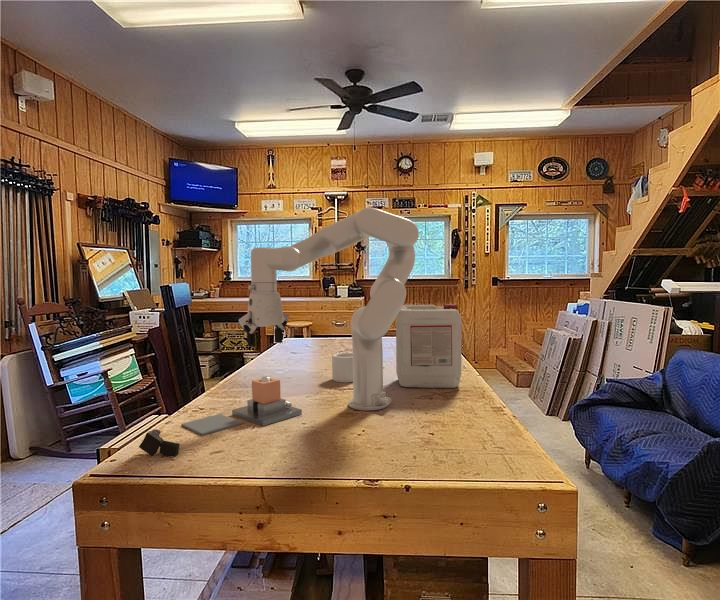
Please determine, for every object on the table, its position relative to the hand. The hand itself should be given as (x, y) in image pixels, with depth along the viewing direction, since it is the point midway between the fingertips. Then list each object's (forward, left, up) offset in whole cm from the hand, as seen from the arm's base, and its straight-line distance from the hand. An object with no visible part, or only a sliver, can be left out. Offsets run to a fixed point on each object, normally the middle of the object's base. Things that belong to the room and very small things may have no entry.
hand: (265, 344), depth 142 cm
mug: (+12, -46, -21) cm, 53 cm away
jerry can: (-17, -61, -21) cm, 67 cm away
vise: (-2, +2, -21) cm, 21 cm away
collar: (-2, +2, -17) cm, 17 cm away
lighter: (-8, +37, -21) cm, 43 cm away
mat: (+2, +18, -21) cm, 28 cm away
